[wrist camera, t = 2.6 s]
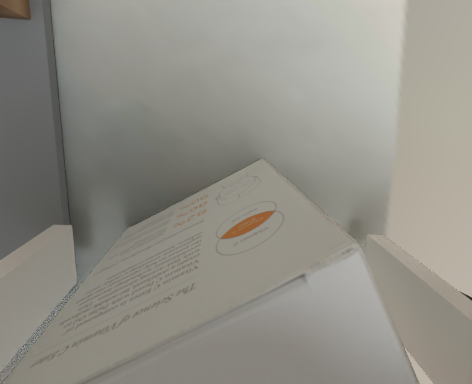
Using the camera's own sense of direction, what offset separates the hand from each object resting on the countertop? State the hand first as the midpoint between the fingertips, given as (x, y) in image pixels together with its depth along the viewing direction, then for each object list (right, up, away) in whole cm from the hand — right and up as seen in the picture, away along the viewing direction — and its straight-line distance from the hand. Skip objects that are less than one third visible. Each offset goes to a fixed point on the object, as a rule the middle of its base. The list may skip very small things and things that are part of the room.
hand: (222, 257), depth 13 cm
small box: (0, +1, +2) cm, 3 cm away
